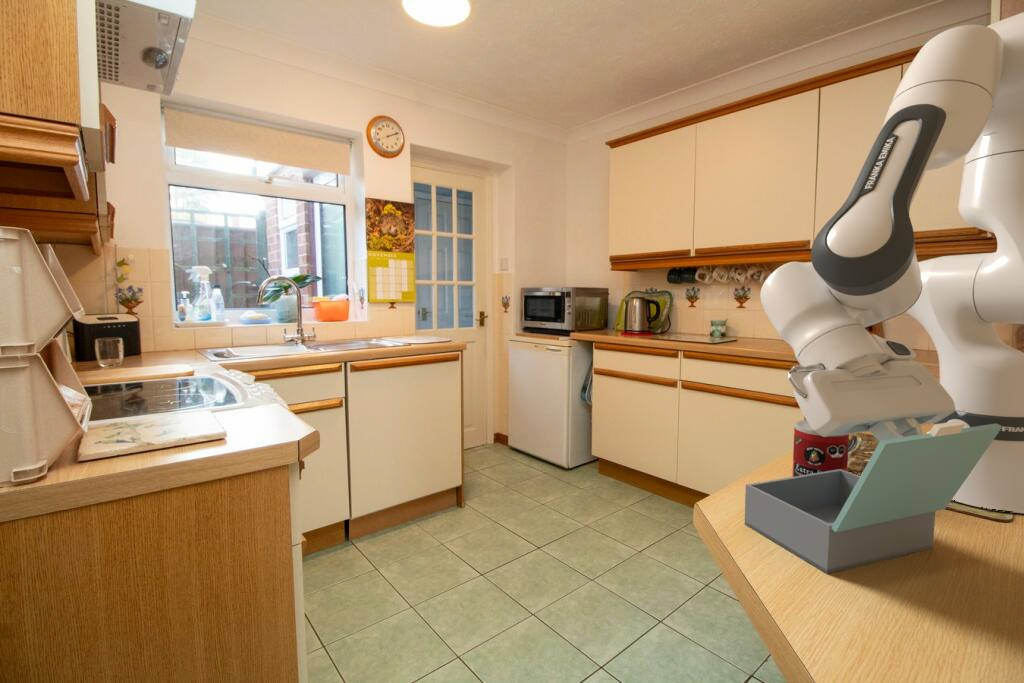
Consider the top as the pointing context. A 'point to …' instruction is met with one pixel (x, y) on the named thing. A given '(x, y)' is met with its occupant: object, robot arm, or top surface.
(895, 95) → the robot arm
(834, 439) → the canned food
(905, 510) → the mailer lid
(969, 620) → the top surface
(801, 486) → the box
